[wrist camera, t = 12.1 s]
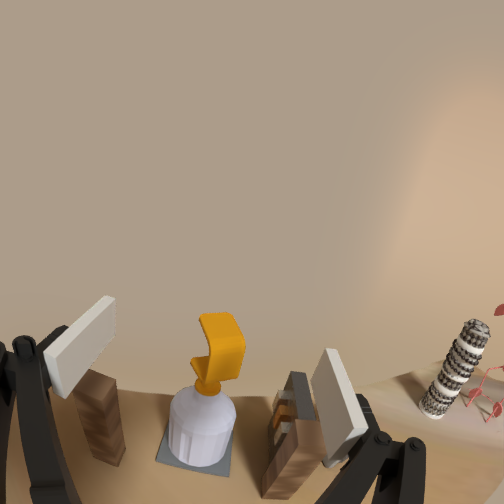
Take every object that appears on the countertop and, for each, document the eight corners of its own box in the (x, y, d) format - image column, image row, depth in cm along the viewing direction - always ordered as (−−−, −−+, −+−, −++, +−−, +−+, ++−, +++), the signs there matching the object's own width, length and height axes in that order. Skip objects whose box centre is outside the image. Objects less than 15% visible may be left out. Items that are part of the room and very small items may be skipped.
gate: (93, 457, 26) (71, 387, 22) (102, 439, 30) (87, 368, 26) (288, 499, 27) (333, 445, 24) (286, 479, 31) (326, 421, 27)
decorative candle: (412, 408, 50) (462, 319, 44) (423, 393, 56) (467, 312, 50) (439, 425, 44) (494, 336, 37) (448, 408, 49) (495, 326, 43)
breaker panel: (262, 474, 32) (290, 424, 28) (261, 424, 43) (283, 369, 40) (284, 476, 32) (317, 426, 29) (280, 427, 43) (305, 372, 40)
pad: (155, 461, 30) (155, 460, 30) (170, 418, 40) (170, 416, 40) (228, 477, 30) (229, 476, 30) (232, 431, 40) (233, 430, 40)
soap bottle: (210, 421, 41) (237, 299, 35) (234, 459, 34) (278, 338, 28) (161, 429, 36) (169, 301, 30) (181, 473, 29) (197, 349, 23)
